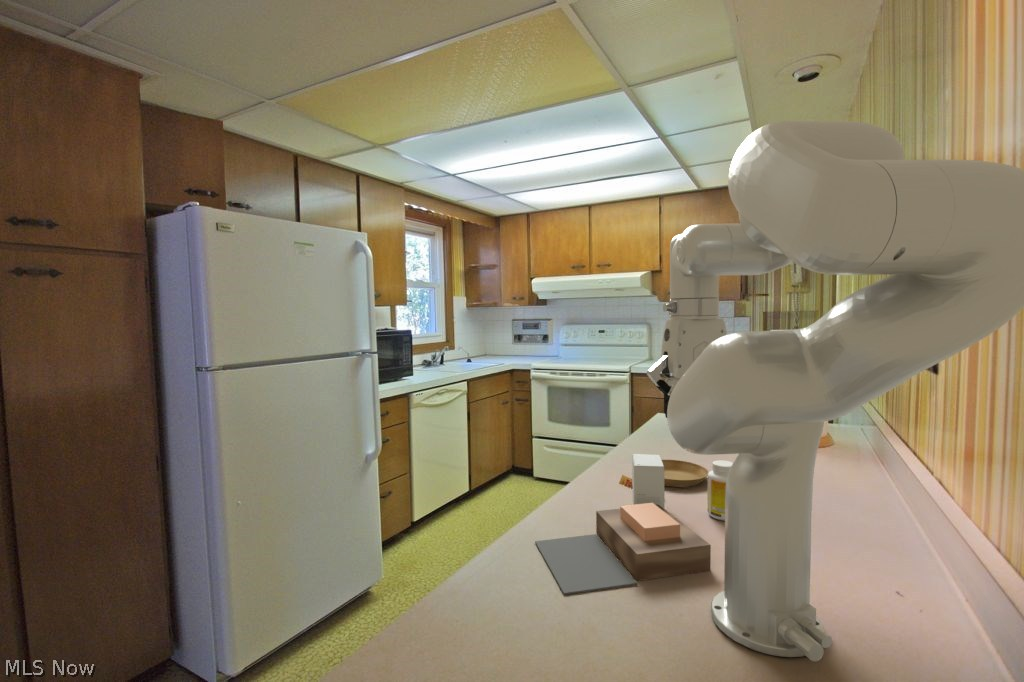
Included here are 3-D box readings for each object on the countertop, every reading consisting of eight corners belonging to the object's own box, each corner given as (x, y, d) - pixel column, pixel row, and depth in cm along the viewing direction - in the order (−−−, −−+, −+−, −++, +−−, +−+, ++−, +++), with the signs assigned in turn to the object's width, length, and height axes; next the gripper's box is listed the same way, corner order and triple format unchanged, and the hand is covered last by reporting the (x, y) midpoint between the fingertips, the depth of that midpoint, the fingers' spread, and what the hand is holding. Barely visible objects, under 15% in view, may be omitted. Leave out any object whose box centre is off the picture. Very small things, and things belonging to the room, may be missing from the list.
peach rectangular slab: (680, 536, 78) (680, 524, 78) (644, 541, 77) (644, 528, 77) (652, 513, 87) (652, 502, 87) (620, 517, 85) (620, 506, 85)
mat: (636, 584, 72) (637, 582, 72) (564, 595, 70) (564, 592, 70) (595, 535, 87) (595, 534, 87) (535, 542, 85) (535, 541, 85)
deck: (710, 570, 75) (710, 544, 75) (637, 580, 73) (637, 554, 73) (658, 525, 91) (658, 504, 91) (596, 533, 88) (596, 511, 88)
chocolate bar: (656, 503, 103) (656, 492, 103) (618, 485, 113) (618, 475, 113) (665, 500, 104) (665, 490, 104) (626, 483, 115) (626, 473, 114)
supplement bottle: (744, 521, 92) (745, 467, 91) (715, 522, 92) (715, 468, 91) (730, 509, 98) (731, 458, 97) (702, 510, 98) (702, 459, 97)
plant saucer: (693, 468, 123) (693, 458, 123) (720, 490, 109) (720, 478, 108) (634, 470, 123) (634, 460, 123) (653, 492, 108) (653, 480, 108)
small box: (664, 522, 93) (664, 466, 92) (633, 520, 94) (633, 465, 93) (660, 505, 100) (660, 454, 100) (632, 503, 102) (632, 453, 101)
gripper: (656, 311, 76) (656, 426, 77) (756, 309, 79) (755, 419, 80) (634, 311, 83) (634, 416, 84) (726, 309, 87) (725, 410, 88)
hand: (693, 417), depth 82 cm, fingers open, 7 cm apart
